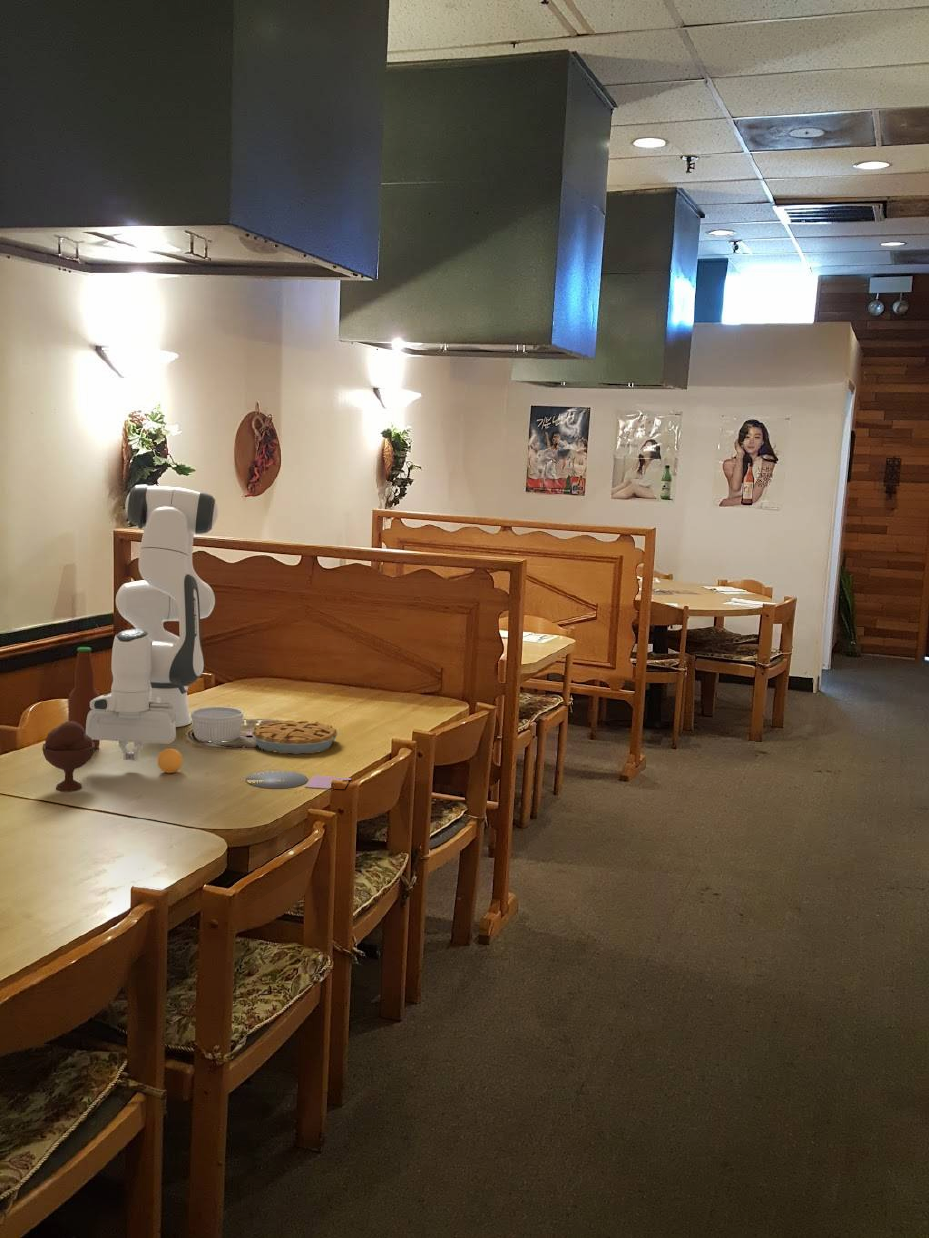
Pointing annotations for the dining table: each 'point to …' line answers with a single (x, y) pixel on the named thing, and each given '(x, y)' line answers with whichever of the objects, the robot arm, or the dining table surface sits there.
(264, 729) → the pie
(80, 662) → the bottle
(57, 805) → the dining table surface
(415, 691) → the dining table surface
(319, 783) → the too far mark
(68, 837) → the dining table surface
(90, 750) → the ice cream bowl
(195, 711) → the ramekin
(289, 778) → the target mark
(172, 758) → the ball
